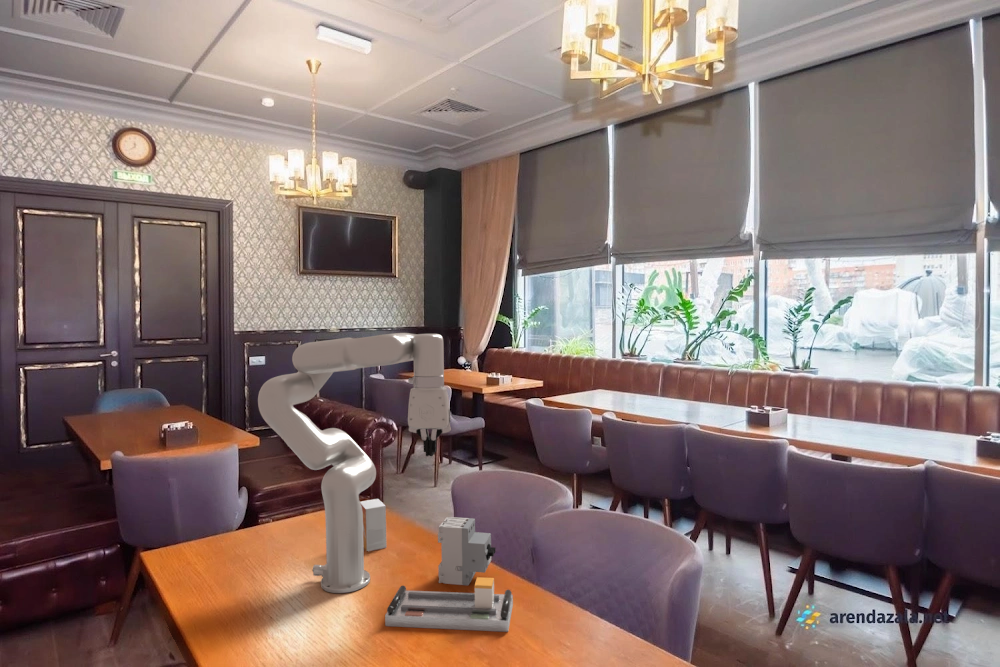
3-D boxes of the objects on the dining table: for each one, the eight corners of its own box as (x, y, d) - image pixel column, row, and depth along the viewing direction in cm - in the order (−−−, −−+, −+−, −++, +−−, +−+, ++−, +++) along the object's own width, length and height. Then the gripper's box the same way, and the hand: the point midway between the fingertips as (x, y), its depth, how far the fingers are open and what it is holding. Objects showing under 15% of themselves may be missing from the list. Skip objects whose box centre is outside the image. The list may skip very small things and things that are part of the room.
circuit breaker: (491, 587, 150) (490, 530, 149) (438, 582, 152) (437, 526, 152) (497, 574, 157) (496, 519, 156) (446, 570, 160) (446, 516, 159)
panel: (385, 626, 131) (385, 608, 131) (400, 600, 143) (399, 583, 143) (508, 631, 128) (507, 613, 128) (512, 604, 140) (512, 588, 140)
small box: (359, 542, 180) (358, 501, 180) (379, 539, 183) (378, 498, 183) (366, 552, 173) (365, 508, 173) (387, 547, 176) (386, 505, 176)
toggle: (474, 608, 133) (474, 585, 133) (477, 600, 137) (477, 577, 137) (492, 609, 133) (491, 585, 133) (494, 600, 137) (493, 577, 137)
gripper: (395, 384, 143) (397, 458, 144) (455, 384, 141) (456, 459, 142) (404, 381, 150) (405, 451, 151) (460, 381, 149) (461, 452, 149)
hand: (430, 454), depth 147 cm, fingers closed
